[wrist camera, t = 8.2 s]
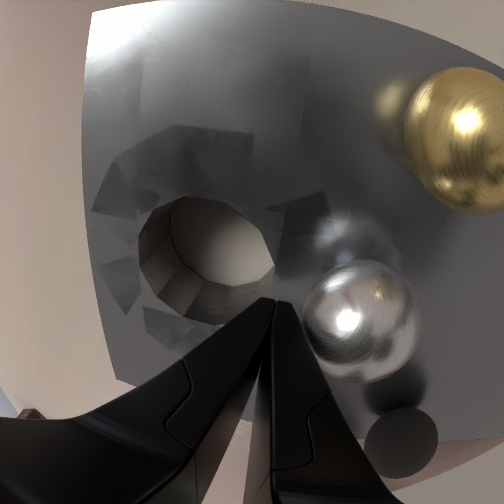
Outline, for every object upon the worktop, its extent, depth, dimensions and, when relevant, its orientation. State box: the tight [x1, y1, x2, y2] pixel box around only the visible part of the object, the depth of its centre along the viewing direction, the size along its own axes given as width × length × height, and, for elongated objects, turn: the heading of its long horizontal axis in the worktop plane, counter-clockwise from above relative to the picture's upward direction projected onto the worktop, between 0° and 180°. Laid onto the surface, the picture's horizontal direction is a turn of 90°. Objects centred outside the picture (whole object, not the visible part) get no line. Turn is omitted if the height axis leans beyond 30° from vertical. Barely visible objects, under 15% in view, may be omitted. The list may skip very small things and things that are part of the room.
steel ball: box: [301, 259, 423, 384], centre depth 8 cm, size 3×3×3 cm
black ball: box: [364, 407, 438, 479], centre depth 10 cm, size 3×3×3 cm
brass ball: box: [404, 67, 504, 215], centre depth 5 cm, size 3×3×3 cm
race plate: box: [82, 0, 504, 442], centre depth 10 cm, size 23×16×2 cm
